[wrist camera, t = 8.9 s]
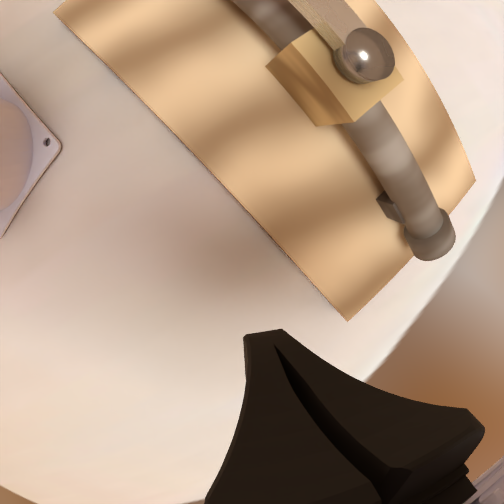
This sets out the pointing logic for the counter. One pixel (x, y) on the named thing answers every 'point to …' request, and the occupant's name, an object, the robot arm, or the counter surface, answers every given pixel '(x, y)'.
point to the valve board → (295, 129)
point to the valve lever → (349, 40)
